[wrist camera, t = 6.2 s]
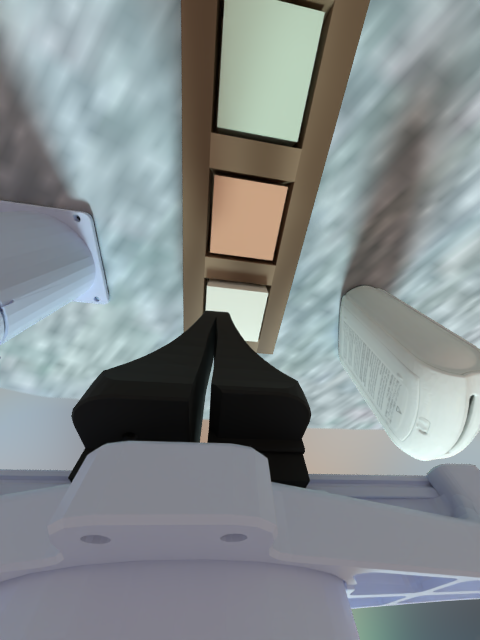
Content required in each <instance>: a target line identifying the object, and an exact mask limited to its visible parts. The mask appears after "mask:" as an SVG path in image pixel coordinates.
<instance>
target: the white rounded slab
mask: <svg viewBox="0 0 480 640" xmlns="http://www.w3.org/2000/svg"><path fill="white" fill-rule="evenodd" d="M339 359H340V362H341V364H342V366H343V368H344V369H345V371H346V372H347V374H348V375H349V377H350V378H351V380H352V381H353V383H354V384H355V386H356V387H357V389H358V390H359V392H360V393H361V395H362V396H363V398H364V399H365V401H366V402H367V404H368V405H369V407H370V408H371V410H372V412H373V413H374V415H375V416H376V418H377V419H378V421H379V422H380V424H381V425H382V427H383V428H384V430H385V431H386V433H387V435H388V436H389V437H390V439H391V440H392V441H393V443H394V444H395V445H396V446H397V447H399V448H400V449H401V450H402V451H404V452H405V453H407V454H408V455H410V456H412V457H414V458H416V459H418V460H422V461H428V460H433V459H438V458H439V459H440V458H447V457H451V456H453V455H455V454H457V453H459V452H460V451H462V450H463V449H464V448H465V447H466V446H467V445H468V444H469V443H470V442H471V441H472V440H473V439H474V438H475V436H476V435H477V433H478V432H479V430H480V349H479V348H477V347H476V346H474V345H473V344H471V343H469V342H468V341H466V340H465V339H463V338H461V337H460V336H458V335H457V334H455V333H453V332H452V331H450V330H449V329H447V328H445V327H444V326H442V325H440V324H439V323H437V322H435V321H434V320H432V319H431V318H429V317H427V316H426V315H424V314H422V313H421V312H419V311H417V310H416V309H414V308H413V307H411V306H409V305H408V304H406V303H404V302H403V301H401V300H399V299H398V298H396V297H394V296H393V295H391V294H389V293H388V292H386V291H384V290H382V289H380V288H376V289H375V288H373V287H371V286H359V287H356V288H354V289H352V290H350V291H349V292H347V293H346V295H344V296H343V298H342V302H341V307H340V321H339Z"/></svg>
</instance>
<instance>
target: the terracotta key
mask: <svg viewBox="0 0 480 640" xmlns="http://www.w3.org/2000/svg"><path fill="white" fill-rule="evenodd" d="M287 189H288V187H285V186H279V185H273V184H267V183H261V182H255V181H248V180H242V179H236V178H230V177H224V176H218V175H214V192H213V209H212V227H211V244H210V252H211V253H218V254H226V255H234V256H241V257H249V258H257V259H264V260H273V255H274V251H275V246H276V241H277V236H278V232H279V227H280V222H281V217H282V213H283V208H284V203H285V199H286V194H287Z"/></svg>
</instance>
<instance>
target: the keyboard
mask: <svg viewBox="0 0 480 640" xmlns="http://www.w3.org/2000/svg"><path fill="white" fill-rule="evenodd" d="M278 1H282V2H286V3H290V4H294V5H298V6H302V7H306V8H310V9H314V10H318V11H322V12H325V14H324V19H323V24H322V28H321V33H320V38H319V43H318V47H317V52H316V57H315V61H314V66H313V71H312V76H311V80H310V85H309V90H308V95H307V99H306V104H305V109H304V113H303V118H302V123H301V128H300V132H299V137H298V142H297V143H296V144H294V145H293V146H292V147H287V146H282V145H277V144H271V143H266V142H260V141H255V140H249V139H244V138H238V137H233V136H228V135H222V134H219V133H218V128H217V122H218V104H219V87H220V70H221V52H222V35H223V17H224V0H181V38H182V173H183V308H184V332H185V331H186V330H188V329H189V328H190V327H191V326H192V325H193V324H194V323H195V322H196V321H197V320H198V319H199V318H200V317H201V316H202V314H203V313H204V312H205V311H206V294H207V284H208V281H209V278H212V279H220V280H229V281H237V282H246V283H254V284H263V285H266V288H267V291H268V297H267V301H266V306H265V311H264V315H263V320H262V324H261V329H260V333H259V338H258V342H252V341H246V343H247V344H248V345H249V346H250V347H251V348H252V349H253V350H254V351H255V352H256V353H263V354H273V351H274V347H275V344H276V340H277V336H278V333H279V329H280V326H281V322H282V318H283V315H284V311H285V307H286V304H287V300H288V296H289V293H290V289H291V286H292V282H293V278H294V275H295V271H296V267H297V264H298V260H299V257H300V253H301V249H302V246H303V242H304V238H305V235H306V231H307V227H308V224H309V220H310V217H311V213H312V209H313V206H314V202H315V198H316V195H317V191H318V187H319V184H320V180H321V177H322V173H323V169H324V166H325V162H326V158H327V155H328V151H329V148H330V144H331V140H332V137H333V133H334V129H335V126H336V122H337V118H338V115H339V111H340V108H341V104H342V100H343V97H344V93H345V89H346V86H347V82H348V79H349V75H350V71H351V68H352V64H353V60H354V57H355V53H356V49H357V46H358V42H359V39H360V35H361V31H362V28H363V24H364V20H365V17H366V13H367V9H368V6H369V2H370V0H278ZM214 175H218V176H224V177H230V178H236V179H242V180H248V181H255V182H261V183H267V184H273V185H279V186H285V187H288V189H287V194H286V199H285V203H284V208H283V213H282V217H281V222H280V227H279V232H278V236H277V241H276V246H275V251H274V255H273V260H264V259H257V258H249V257H241V256H234V255H226V254H218V253H211V252H210V244H211V227H212V209H213V192H214Z"/></svg>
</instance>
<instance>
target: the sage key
mask: <svg viewBox="0 0 480 640" xmlns="http://www.w3.org/2000/svg"><path fill="white" fill-rule="evenodd" d="M324 14H325V12H322V11H318V10H314V9H310V8H306V7H302V6H298V5H294V4H290V3H286V2H282V1H278V0H224V17H223V35H222V52H221V70H220V87H219V104H218V122H217V128H218V133H219V134H222V135H228V136H233V137H238V138H244V139H249V140H255V141H260V142H266V143H271V144H277V145H282V146H287V147H292V146H293V145H294V144H296V143H297V142H298V137H299V132H300V128H301V123H302V118H303V113H304V109H305V104H306V99H307V95H308V90H309V85H310V80H311V76H312V71H313V66H314V61H315V57H316V52H317V47H318V43H319V38H320V33H321V28H322V24H323V19H324Z"/></svg>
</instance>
